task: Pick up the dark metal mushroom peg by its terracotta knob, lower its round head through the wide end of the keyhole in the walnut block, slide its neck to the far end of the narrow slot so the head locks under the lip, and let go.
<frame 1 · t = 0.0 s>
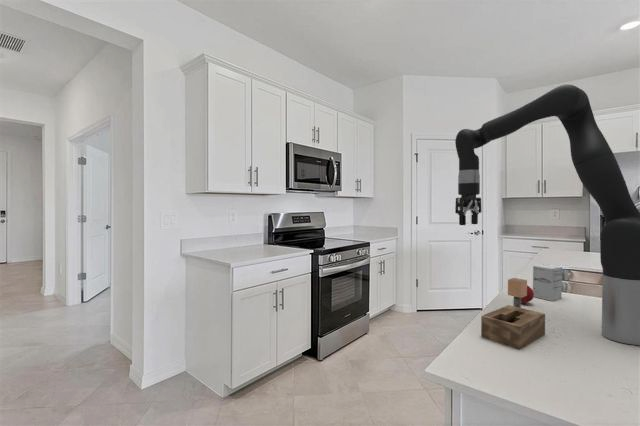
hand: (468, 224, 126), 29 cm above the counter, tool pointing down, fingers open, 8 cm apart
onion: (524, 304, 122), on the counter
keyhole block: (513, 335, 93), on the counter
mushroom peg: (517, 319, 105), on the counter
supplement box: (546, 298, 129), on the counter
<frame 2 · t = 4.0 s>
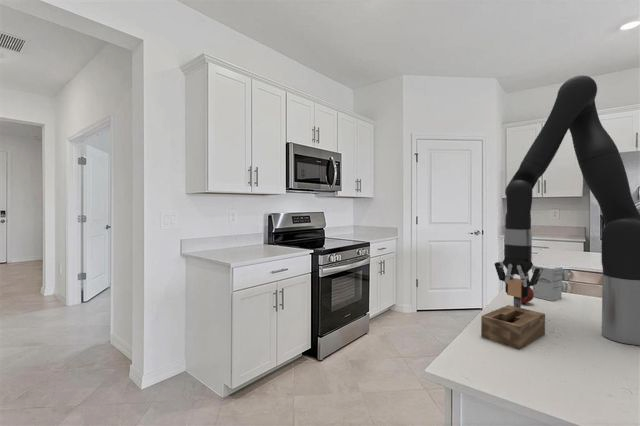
hand: (517, 296, 105), 8 cm above the counter, tool pointing down, fingers closed on mushroom peg, 4 cm apart
mushroom peg: (517, 319, 105), on the counter, touching gripper
everything else where it was.
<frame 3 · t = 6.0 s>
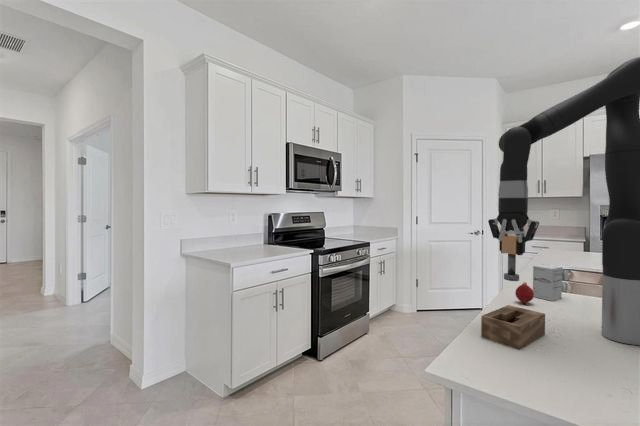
hand: (511, 253, 98), 22 cm above the counter, tool pointing down, fingers closed on mushroom peg, 4 cm apart
mushroom peg: (511, 279, 98), point 15 cm above the counter, touching gripper
everything else where it was.
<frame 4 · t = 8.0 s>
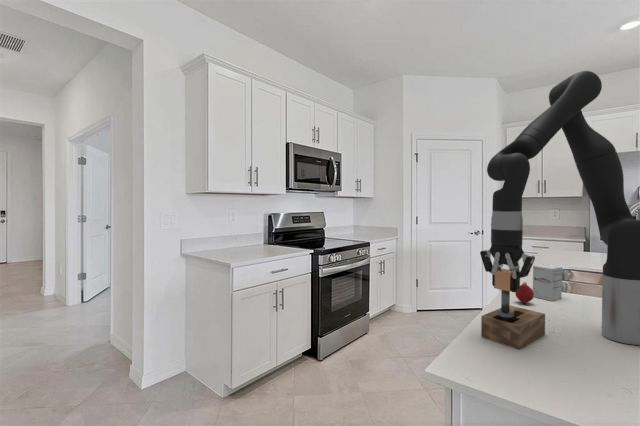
hand: (505, 289, 90), 14 cm above the counter, tool pointing down, fingers closed on mushroom peg, 4 cm apart
mushroom peg: (505, 317, 91), point 6 cm above the counter, touching gripper
everything else where it was.
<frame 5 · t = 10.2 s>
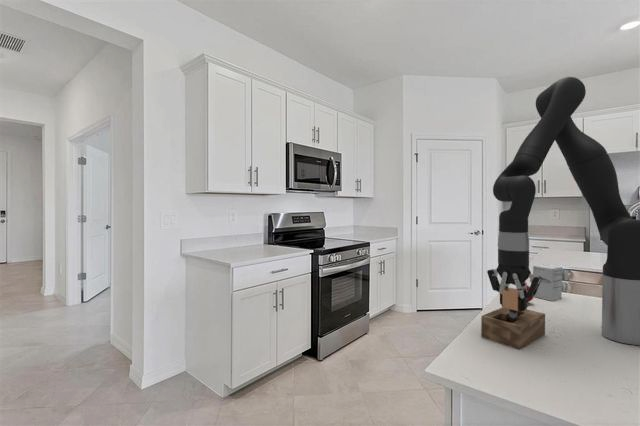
hand: (513, 308, 92), 8 cm above the counter, tool pointing down, fingers closed on mushroom peg, 4 cm apart
mushroom peg: (513, 335, 92), resting in keyhole block, touching gripper
everything else where it was.
when the fingers open (8 cm above the counter, at t = 12.1 s): mushroom peg stays where it is, resting in keyhole block.
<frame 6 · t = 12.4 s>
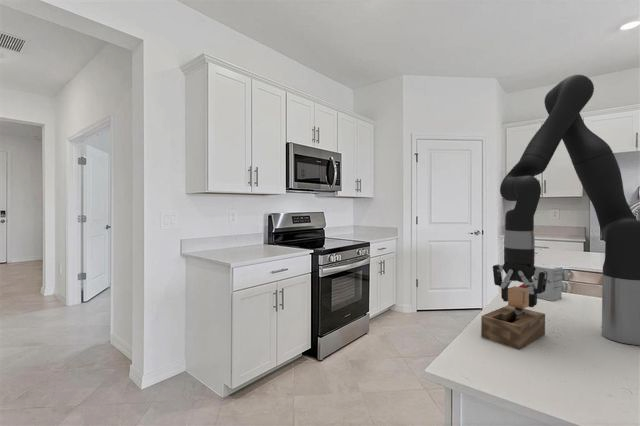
hand: (518, 303, 95), 9 cm above the counter, tool pointing down, fingers open, 6 cm apart
mushroom peg: (518, 333, 95), resting in keyhole block
everything else where it was.
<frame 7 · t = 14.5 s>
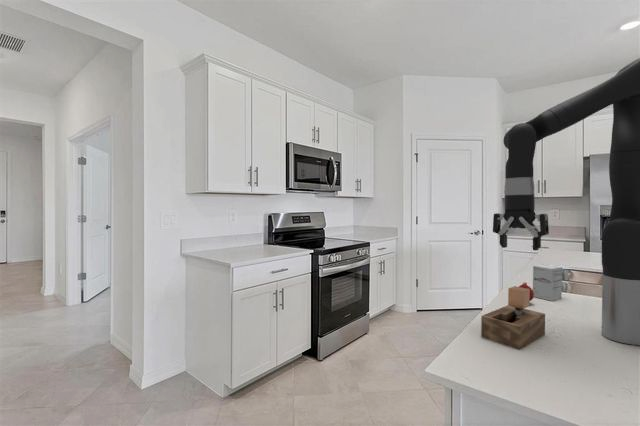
hand: (519, 248, 97), 24 cm above the counter, tool pointing down, fingers open, 8 cm apart
nothing on the counter moved.
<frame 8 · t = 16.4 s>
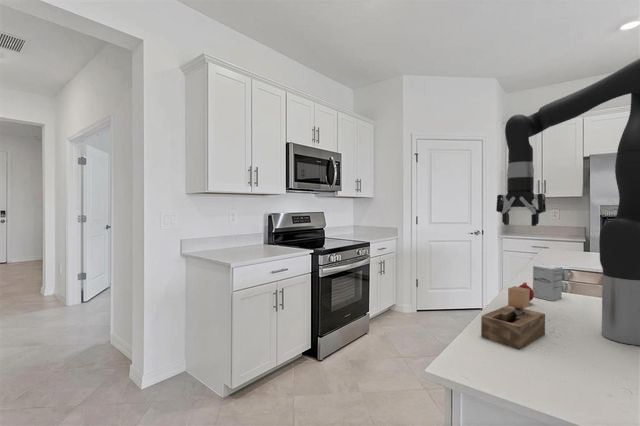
hand: (519, 225, 109), 30 cm above the counter, tool pointing down, fingers open, 8 cm apart
nothing on the counter moved.
at the end: mushroom peg 0.3 cm from the target spot on the keyhole block, point 0.0 cm above the keyhole block's base; mushroom peg tilted 0°; the gripper is holding nothing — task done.
